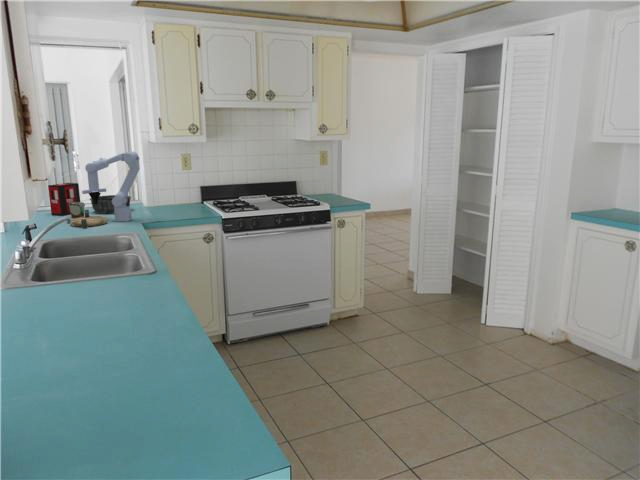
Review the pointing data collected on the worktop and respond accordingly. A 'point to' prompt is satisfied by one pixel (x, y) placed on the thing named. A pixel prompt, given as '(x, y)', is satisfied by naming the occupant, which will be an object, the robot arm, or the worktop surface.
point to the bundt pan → (106, 204)
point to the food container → (77, 209)
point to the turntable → (88, 220)
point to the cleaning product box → (63, 197)
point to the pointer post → (84, 223)
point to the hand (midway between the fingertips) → (95, 204)
